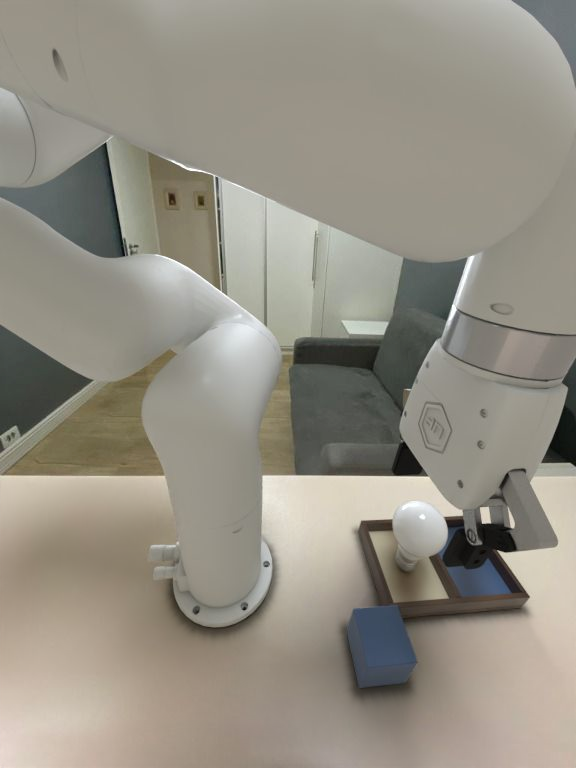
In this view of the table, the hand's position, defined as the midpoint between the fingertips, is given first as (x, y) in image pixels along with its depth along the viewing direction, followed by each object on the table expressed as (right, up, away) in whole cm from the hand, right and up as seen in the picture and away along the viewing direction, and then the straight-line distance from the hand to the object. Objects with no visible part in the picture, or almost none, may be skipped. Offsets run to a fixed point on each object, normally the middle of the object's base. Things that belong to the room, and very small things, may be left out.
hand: (429, 511), depth 29 cm
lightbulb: (+3, -13, +13) cm, 18 cm away
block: (-4, -18, +5) cm, 19 cm away
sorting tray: (+7, -13, +14) cm, 20 cm away
